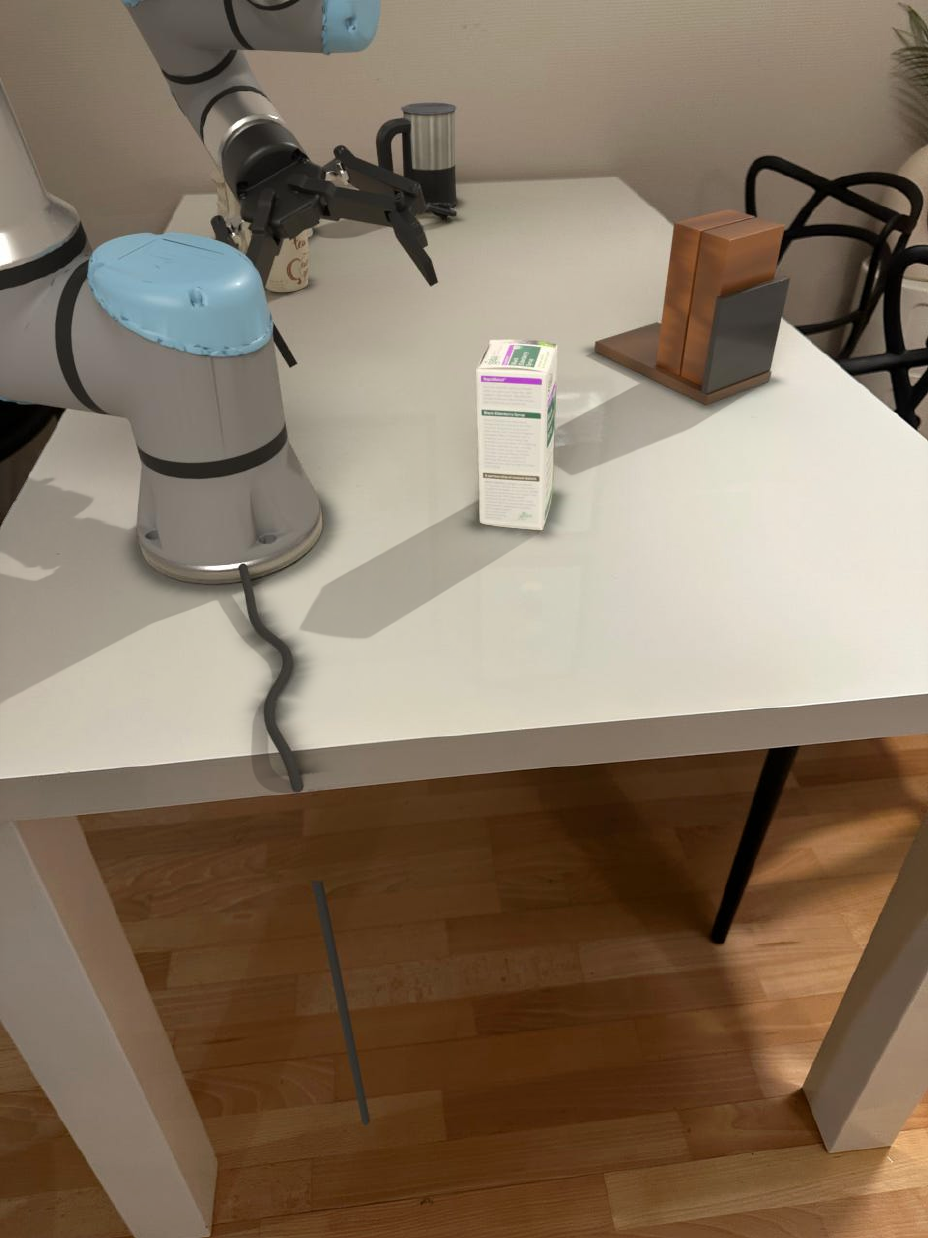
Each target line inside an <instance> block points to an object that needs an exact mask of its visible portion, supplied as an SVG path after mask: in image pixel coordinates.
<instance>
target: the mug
mask: <svg viewBox="0 0 928 1238" xmlns="http://www.w3.org/2000/svg"><path fill="white" fill-rule="evenodd" d="M245 238H246V242H247V245H248V247H249V244H250V241H251V238H252V231H250V230H249V229H246V230H245ZM308 284H309V237H308V229H306V230H304V231H303V232H301V233H300V234H299V235H298V236H297V237H295V238H293V239H291V240H289V238H287V239H284V241H283V244H282V247H281V250H280V253H279V256H275V258H274V262H273V265H272V268H271V271H270V274H269V277H268V280H267V283H266V287H265V290H267V291H269V292H274V293H292V292H297V291H299V290H302V289H305V288H306V287H307V286H308Z"/></svg>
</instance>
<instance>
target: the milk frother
mask: <svg viewBox="0 0 928 1238" xmlns="http://www.w3.org/2000/svg"><path fill="white" fill-rule="evenodd" d="M400 110H401V111H402V117H399V118H392V119H388V120H386V121H385V122H384V123H383V124H381V126H380V127H379V129H378V131H377V133H376V136H375V149H376V155H377V156H376V157H377V164H378V165H377V166H379V167H381V168H384V169H386V170H389V171H391V172H393V173H395V172H394V171H395V170H394V161H393V151H392V142H393V139H394V138H395V136H397V135H400V134H401V144H402V145H401V147H402V166H403V167H402V171H403V174H402V176H403V177H406V178H408V179H410V180H413V181H415V182H418V183H419V184H420V187H421V190H422V193H423V197H424V200H425V204H426V212H429V213H431V214H433V215H434V216H436V217H438V218H440V220H441V221H447V220H448V217H449V216H450V217H454V218H455V217H457V215H458V211H457V208H454V209H453V208H452V207H454V206H456V205H458V204H459V200H458V198H457V180H456V179H457V178H456V110H457V106H456V105H454V104H450V103H446V102H415V103H409V104H404V105H402V106H401V107H400Z"/></svg>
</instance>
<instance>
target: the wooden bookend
mask: <svg viewBox="0 0 928 1238" xmlns="http://www.w3.org/2000/svg"><path fill="white" fill-rule="evenodd" d="M785 227H786V225H785V224H782V223H780V222H775V221H772V220H770V219H769V220H768V219H765V218H762V217H758V216H755V215H752V214H748V213H744V212H741V211H739V210H735V209H731V208H727V209H722V210H719V211H716V212H711V213H707V214H704V215H703V214H702V215H700V216H695V217H692V218H688V219H684V220H679V221H676V222H673V229H672V238H671V244H670V252H669V259H668V268H667V274H666V284H665V290H664V299H663V307H662V314H661V322H658V321H656V322H653V323H650V324H647V325H643V326H639V327H637V328H633V329H631V330H628V331H624V332H621V333H618V334H614V335H611V336H609V337H606V338H602V339H599V340H596V341H595V342H594V352H596V353H598V354H599V355H602V356H604V357H606V358H608V359H609V360H612V361H614V362H616V363H618V364H621V365H622V366H624V367H626V368H629V369H630V370H633V371H635V372H637V373H638V374H641V375H642V376H645V377H646V378H649V379H651V380H653V381H655V382H658V383H660V384H662V386H663V385H664V386H665V387H668V388H669V389H671V390H674V391H676V392H678V393H680V394H682V395H684V396H686V397H688V398H691V399H692V400H694V401H697V402H699V403H700V404H702V405H705V406H708V405H711V404H713V403H716V402H718V401H721V400H723V399H724V400H725V399H726V398H728V397H729V398H730V397H731V396H734V395H737V394H739V393H742V392H744V391H748V390H749V389H753V388H755V387H757V386H758V387H759V386H761V385H763V384H765V383H766V384H767V383H769V382H770V381H771V376H772V370H771V369H772V365H773V361H774V355H775V350H776V345H777V342H778V336H779V332H780V327H781V323H782V318H783V313H784V308H785V304H786V300H787V299H786V298H787V295H788V290H789V287H790V286H789V285H790V281H791V277H789V276H787V275H781V276H778V277H775V276H776V272H777V271H776V270H777V267H778V262H779V256H780V251H781V246H782V242H783V236H784V232H785Z"/></svg>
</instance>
